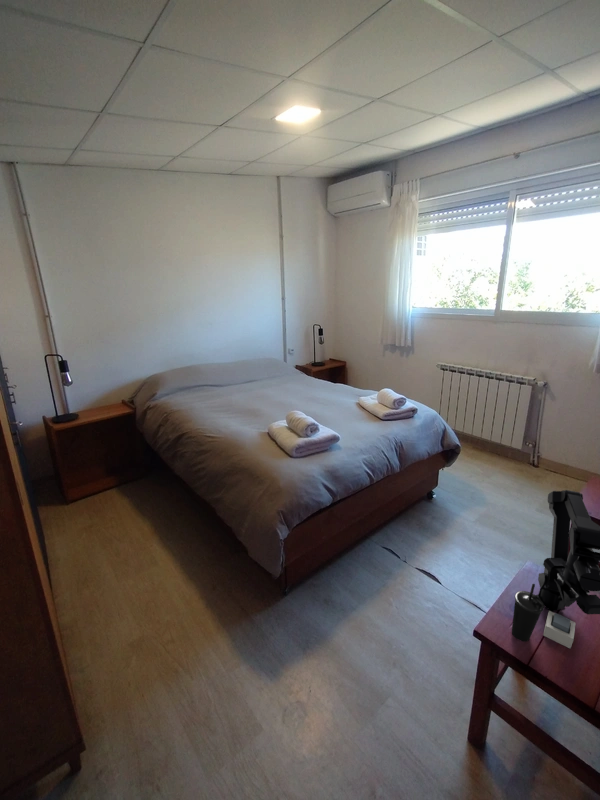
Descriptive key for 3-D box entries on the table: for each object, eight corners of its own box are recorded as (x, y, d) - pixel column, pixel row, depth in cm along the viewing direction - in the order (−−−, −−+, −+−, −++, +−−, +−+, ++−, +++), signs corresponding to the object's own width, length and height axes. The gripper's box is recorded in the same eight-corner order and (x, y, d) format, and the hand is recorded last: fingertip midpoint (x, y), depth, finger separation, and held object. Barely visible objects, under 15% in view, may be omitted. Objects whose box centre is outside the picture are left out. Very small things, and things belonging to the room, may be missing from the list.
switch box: (543, 635, 116) (546, 625, 115) (546, 619, 121) (548, 610, 120) (570, 648, 112) (573, 639, 110) (572, 632, 117) (575, 622, 116)
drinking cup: (531, 651, 111) (545, 599, 104) (503, 635, 116) (515, 584, 109) (537, 634, 116) (551, 584, 110) (510, 619, 121) (522, 570, 115)
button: (551, 628, 115) (553, 621, 114) (552, 619, 118) (555, 612, 117) (566, 636, 113) (569, 628, 112) (568, 626, 116) (570, 619, 115)
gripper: (634, 590, 99) (617, 633, 104) (582, 541, 117) (570, 581, 122) (593, 590, 99) (578, 634, 104) (547, 542, 116) (537, 581, 122)
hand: (566, 605), depth 113 cm, fingers closed
